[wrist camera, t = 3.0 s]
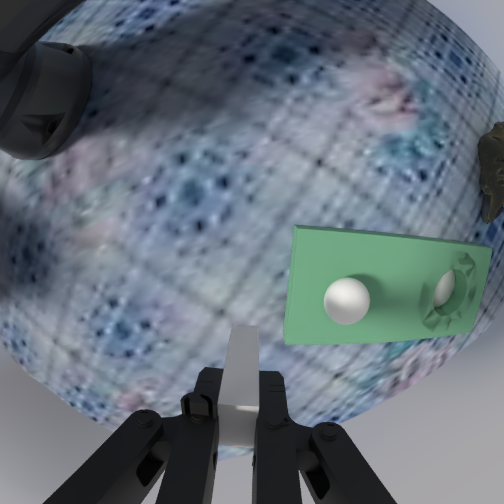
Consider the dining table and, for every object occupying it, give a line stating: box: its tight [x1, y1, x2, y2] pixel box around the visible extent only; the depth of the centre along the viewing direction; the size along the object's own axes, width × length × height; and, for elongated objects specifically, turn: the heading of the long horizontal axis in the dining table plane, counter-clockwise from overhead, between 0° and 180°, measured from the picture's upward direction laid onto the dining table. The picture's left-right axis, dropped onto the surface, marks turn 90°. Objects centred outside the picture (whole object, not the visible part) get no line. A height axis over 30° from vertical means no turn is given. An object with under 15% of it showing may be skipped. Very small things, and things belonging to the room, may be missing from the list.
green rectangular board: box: [283, 225, 493, 345], centre depth 25 cm, size 25×11×2 cm, turn 87°
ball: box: [324, 278, 370, 325], centre depth 22 cm, size 4×4×4 cm
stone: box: [478, 122, 504, 224], centre depth 20 cm, size 7×13×5 cm, turn 169°
